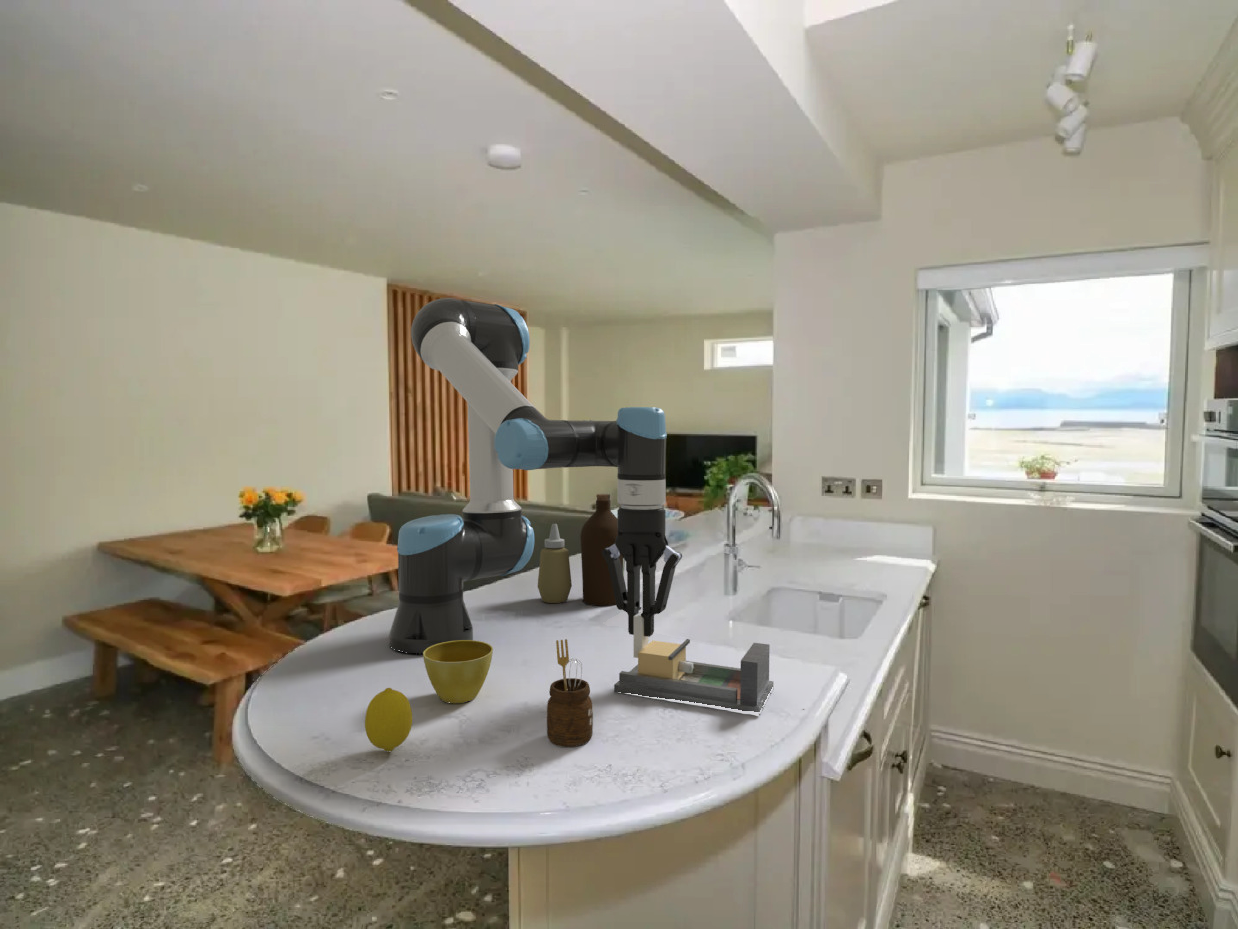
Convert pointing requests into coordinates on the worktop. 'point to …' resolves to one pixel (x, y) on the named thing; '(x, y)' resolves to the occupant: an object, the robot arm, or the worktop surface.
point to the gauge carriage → (664, 660)
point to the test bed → (710, 683)
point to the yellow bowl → (458, 668)
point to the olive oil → (598, 553)
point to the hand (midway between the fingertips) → (641, 655)
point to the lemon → (388, 719)
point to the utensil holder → (569, 707)
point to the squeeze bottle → (554, 569)
